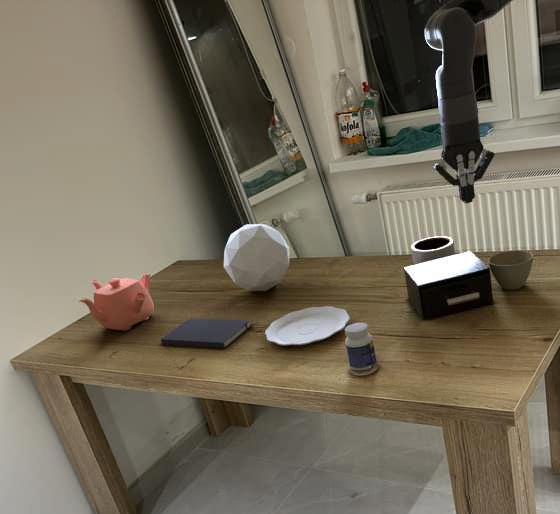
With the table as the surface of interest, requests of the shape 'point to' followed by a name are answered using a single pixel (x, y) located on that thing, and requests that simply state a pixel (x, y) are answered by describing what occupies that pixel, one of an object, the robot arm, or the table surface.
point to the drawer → (456, 294)
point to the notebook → (206, 332)
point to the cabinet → (441, 276)
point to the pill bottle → (360, 349)
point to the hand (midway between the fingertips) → (467, 202)
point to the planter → (432, 249)
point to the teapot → (121, 302)
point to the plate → (307, 325)
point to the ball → (256, 257)
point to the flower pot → (511, 268)
